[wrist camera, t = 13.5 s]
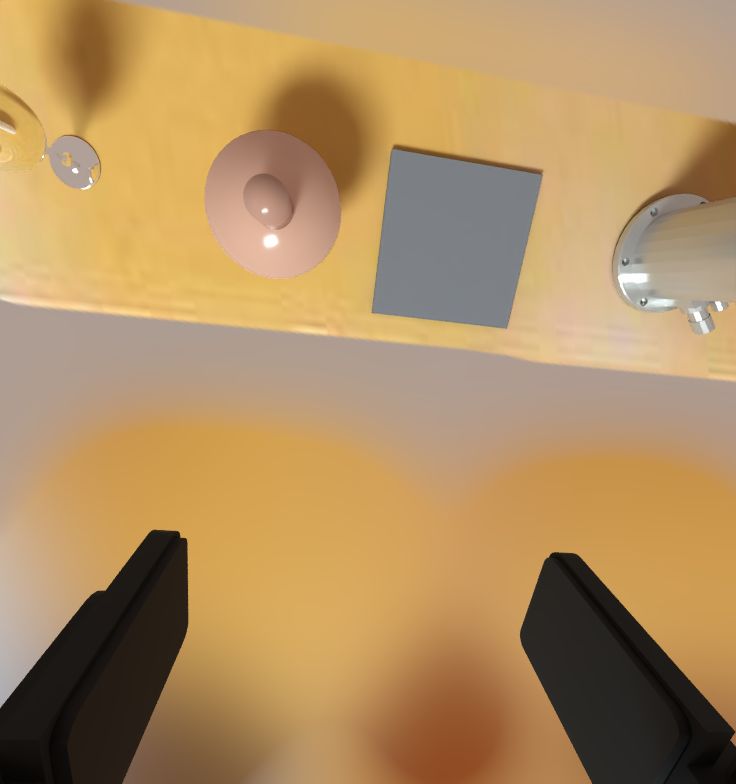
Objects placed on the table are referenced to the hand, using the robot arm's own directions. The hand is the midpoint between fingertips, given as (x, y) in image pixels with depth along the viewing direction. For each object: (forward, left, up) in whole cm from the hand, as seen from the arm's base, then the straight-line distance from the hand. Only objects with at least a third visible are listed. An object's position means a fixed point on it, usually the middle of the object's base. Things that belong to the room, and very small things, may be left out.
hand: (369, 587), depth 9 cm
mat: (+2, -17, -33) cm, 37 cm away
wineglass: (+30, +9, -34) cm, 46 cm away
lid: (+14, -4, -26) cm, 30 cm away
